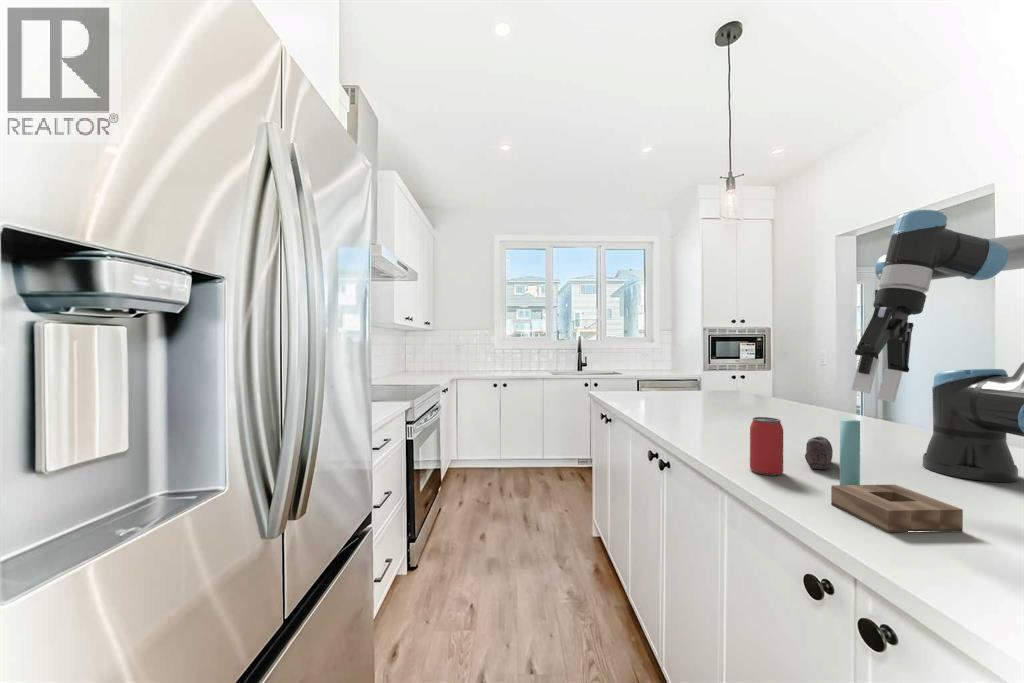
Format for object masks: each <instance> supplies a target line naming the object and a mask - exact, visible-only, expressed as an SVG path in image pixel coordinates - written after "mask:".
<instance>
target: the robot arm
mask: <svg viewBox="0 0 1024 683" xmlns="http://www.w3.org/2000/svg"><path fill="white" fill-rule="evenodd" d="M947 221H948V217H947V215H946V214H944V212H941V211H938V210H935V209H934V210H932V209H916V210H915V209H913V210H910V211H908V212H904V213H902V214H901V215H899V216H898V218H897V219H896V221H895V223H894V226H893V229H892V232H891V234H890V239H889V244H888V247H887V253H886V254H883V255H882V256H881V257H879V259H878V260H877V262H876V264H875V268H874V269H875V271H874V272H875V274H876V275H875V276H876V277H877V278H878V280H879V283H878V287H879V289H877V291H876V293H875V298H874V300H873V303H872V304H873V305H872V306H873V308H874V311H873V314H872V317H871V319H870V321H869V322H868V325H867V326H866V328H865V330H864V332H863V334H862V336H861V338H860V340H859V342H858V344H857V346H856V349H855V350H854V351H855V352H854V355H855V356H859V360H858V363H857V368H856V370H855V371H856V372H855V375H854V378H853V382H852V386H851V390H852V391H855V392H861V393H864V394H865V393H866V394H871V391H872V387H873V385H874V384H873V383H874V381H875V376H876V372H877V368H878V366H879V365H878V364H879V362H880V361H879V360H880V359H878V356H879V354H880V353H881V352H882V350H883V349H884V348H885V346H886V352H887V353H886V354H887V356H886V358H887V368H884V371H883V375H882V377H881V382H880V386H879V390H878V394H877V397H876V399H877V400H880V401H884V402H889V403H893V404H894V403H895V401H896V398H897V394H898V392H899V391H898V390H899V387H900V383H901V380H902V376H903V373H909V372H910V367H909V363H910V361H909V360H910V352H911V340H912V332H913V328H914V322H909V316H911V315H920V314H921V313H922V312H923V311H924V307H925V303H926V299H927V295H926V293H927V292H929V289H930V286H931V282H932V281H933V280H939V279H949V278H955V277H956V278H957V277H960V278H965V279H967V280H976V281H986V280H988V279H992V278H993V277H996V276H997V275H999V274H1000V273H1001V272H1007V271H1012V270H1021V269H1024V233H1023V234H1015V235H1008V236H1007V235H1006V236H1000V237H999V236H998V237H991V238H983V237H979V236H975V235H970V234H967V233H962V232H957V231H954V230H951V229H949V228H946V227H947V226H948V223H947ZM931 389H932V425H933V426H932V436H931V438H930V440H929V441H928V442H929V443H928V445H927V449H926V452H924V453H923V455H922V466H923V467H924V468H925V469H927V470H930V471H932V472H935V473H939V474H943V475H946V476H950V477H955V478H962V479H967V480H968V479H969V480H975V481H981V482H994V483H1011V482H1012V483H1013V482H1016V481H1019V468H1018V467H1017V465H1016V464H1015V461H1014V458H1013V455H1012V452H1011V451H1010V447H1009V446H1008V442H1007V434H1008V435H1009V434H1010V435H1014V436H1019V437H1024V361H1023V362H1022V363H1021V364H1020V366H1019V367H1017V369H1016V371H1015V373H1014V374H1013V375H1012V376H1009V374H1008V372H1007V370H1005V369H1003V368H1002V369H1001V368H984V369H983V368H982V369H981V368H978V369H977V368H976V369H975V368H974V369H973V368H971V369H948V370H941V371H938V372H937V373H935V375H934V377H933V386H932V387H931Z"/></svg>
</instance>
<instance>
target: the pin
mask: <svg viewBox="0 0 1024 683" xmlns="http://www.w3.org/2000/svg"><path fill="white" fill-rule="evenodd" d="M839 485H861V420H858V419H853V418H840V420H839Z"/></svg>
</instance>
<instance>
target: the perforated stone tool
mask: <svg viewBox="0 0 1024 683" xmlns="http://www.w3.org/2000/svg"><path fill="white" fill-rule="evenodd" d="M805 445H806V447H805V449H806V453H805V454H804V459H805V460H806V463H807V465H808V466H809V467H811V468H813V469H816V470H826V469H827V468H829V467H830V465H831V463H832V460H833V456H834V455H833V454H834V453H833V445H832V443H831V442H830V441H829V439H828V438H827V437H824V436H820V435H819V436H815V437H811V438H809V439H808V440H807V442H806V444H805Z"/></svg>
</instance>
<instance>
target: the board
mask: <svg viewBox="0 0 1024 683" xmlns="http://www.w3.org/2000/svg"><path fill="white" fill-rule="evenodd" d="M830 492H831V495H830V497H831V498H830V502H831V503H830V504H831V506H834V507H836V508H838V509H839V510H841V511H844V512H845V513H847V512H848V513H847V514H850V515H851V516H853V515H854V516H853V517H855V516H856V517H855V518H857V517H858V518H857V519H859V518H860V519H859V520H861V519H862V520H861V521H863V520H864V521H863V522H865V521H866V522H865V523H867V522H868V523H867V524H869V523H870V525H871V524H872V525H871V526H873V525H874V526H873V527H875V526H876V528H877V527H878V528H877V529H879V528H880V529H879V530H881V529H882V530H881V531H883V530H884V531H883V532H885V531H886V532H885V533H887V532H908V531H963V529H964V527H963V525H964V523H963V520H964V519H963V517H964V514H963V513H964V509H963V508H960V507H957V506H954V505H951V504H949V503H947V502H943V501H940V500H938V499H936V498H933V497H930V496H927V495H924V494H923V493H920V492H917V491H914V490H912V489H911V490H910V489H908V488H905V487H902V486H901V485H897V484H860V485H840V484H839V485H838V484H837V485H835V484H833V485H832V484H831V491H830Z"/></svg>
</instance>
